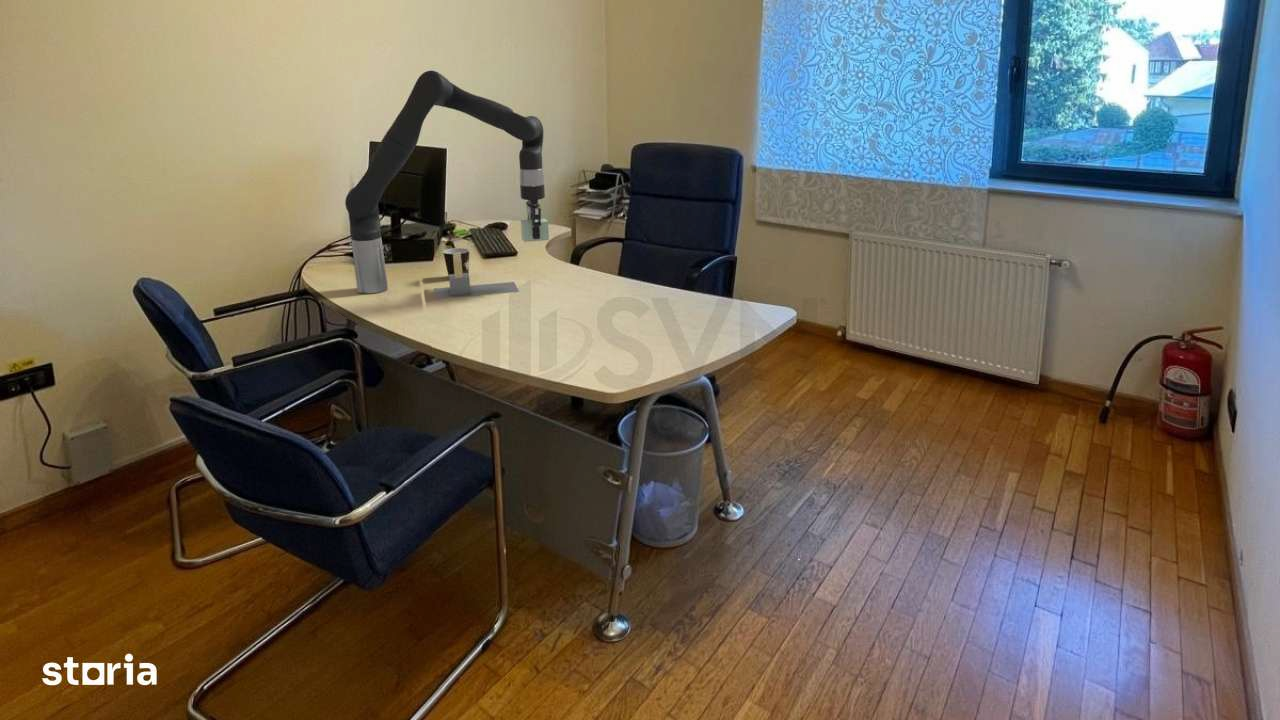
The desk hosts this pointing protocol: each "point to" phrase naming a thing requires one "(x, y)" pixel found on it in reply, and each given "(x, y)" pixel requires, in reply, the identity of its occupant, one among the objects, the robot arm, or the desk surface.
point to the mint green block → (528, 234)
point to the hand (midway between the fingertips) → (535, 236)
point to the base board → (472, 288)
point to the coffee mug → (450, 264)
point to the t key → (457, 264)
